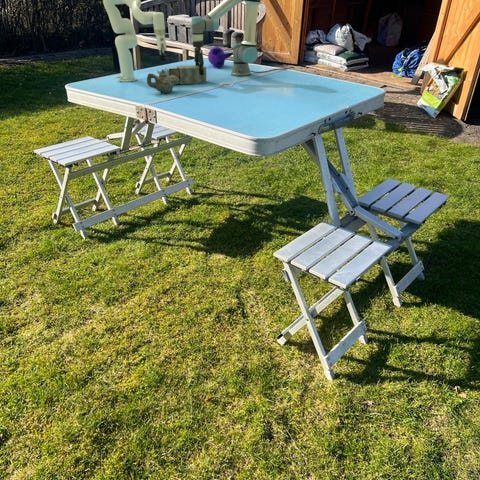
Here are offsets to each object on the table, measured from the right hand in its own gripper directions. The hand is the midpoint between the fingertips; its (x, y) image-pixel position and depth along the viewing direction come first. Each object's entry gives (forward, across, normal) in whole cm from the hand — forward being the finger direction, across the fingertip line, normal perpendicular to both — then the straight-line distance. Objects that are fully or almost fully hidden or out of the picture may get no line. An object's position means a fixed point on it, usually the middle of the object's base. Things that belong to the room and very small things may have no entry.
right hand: (199, 73), depth 329 cm
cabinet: (+6, 0, +6) cm, 8 cm away
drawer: (+4, 0, +18) cm, 19 cm away
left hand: (-10, 0, +26) cm, 28 cm away
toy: (+6, +56, -32) cm, 65 cm away
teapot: (+6, -25, +32) cm, 41 cm away
